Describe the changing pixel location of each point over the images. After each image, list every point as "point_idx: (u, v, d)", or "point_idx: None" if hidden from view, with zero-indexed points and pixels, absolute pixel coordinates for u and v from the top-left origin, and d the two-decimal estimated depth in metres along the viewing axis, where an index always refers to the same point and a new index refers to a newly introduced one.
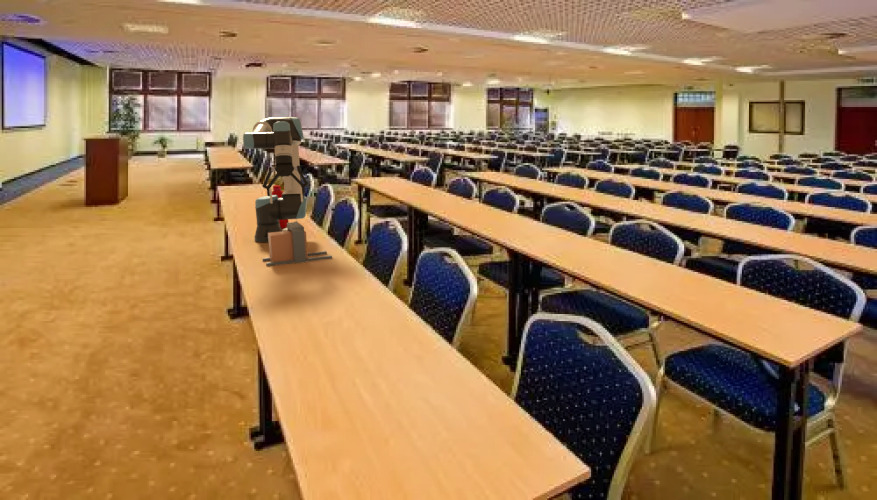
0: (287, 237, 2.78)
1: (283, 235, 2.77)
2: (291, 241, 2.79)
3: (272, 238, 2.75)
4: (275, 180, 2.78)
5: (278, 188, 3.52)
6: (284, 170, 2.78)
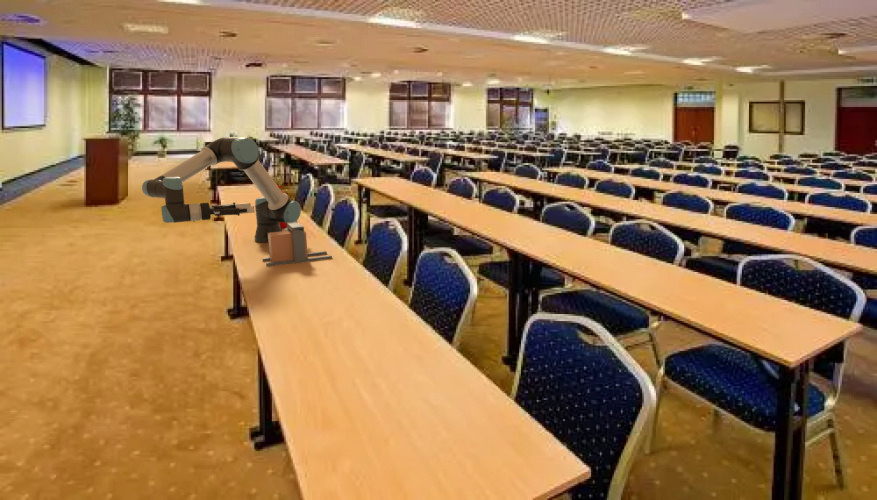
0: (287, 237, 2.78)
1: (283, 235, 2.77)
2: (291, 241, 2.79)
3: (272, 238, 2.75)
4: (226, 208, 2.76)
5: None
6: None
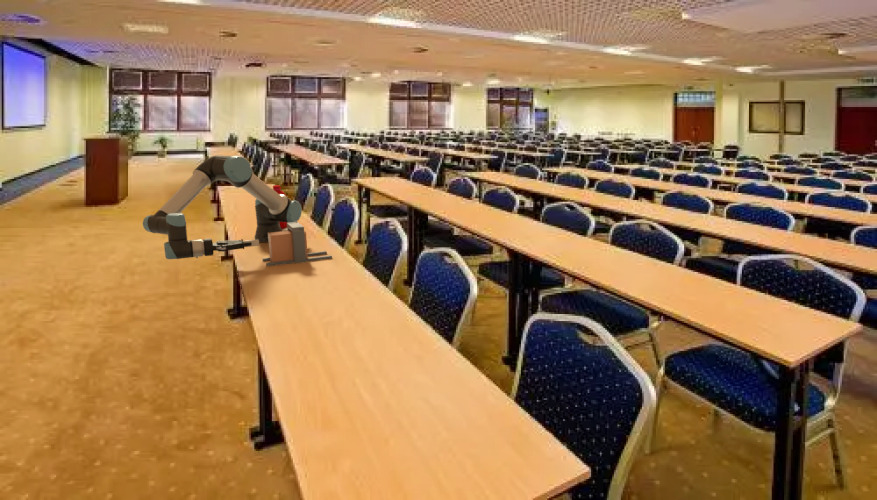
0: (287, 237, 2.78)
1: (283, 235, 2.77)
2: (291, 241, 2.79)
3: (272, 238, 2.75)
4: None
5: (278, 188, 3.52)
6: None
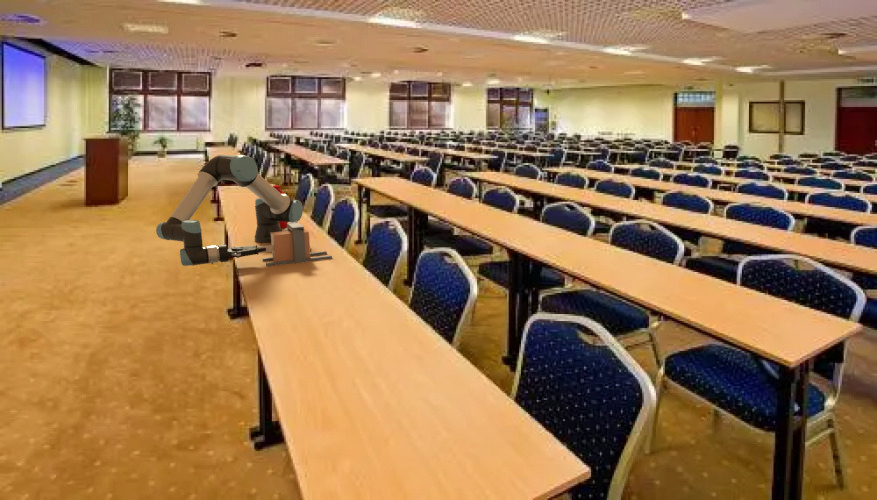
0: (290, 237, 2.78)
1: (286, 235, 2.77)
2: None
3: (275, 238, 2.75)
4: None
5: (278, 188, 3.52)
6: None
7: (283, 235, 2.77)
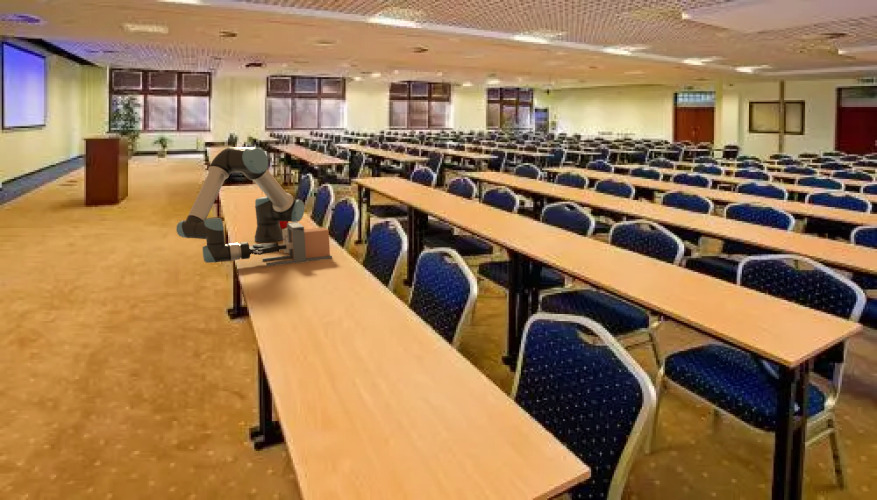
0: (310, 235, 2.82)
1: (306, 233, 2.81)
2: (314, 239, 2.83)
3: None
4: None
5: None
6: None
7: None
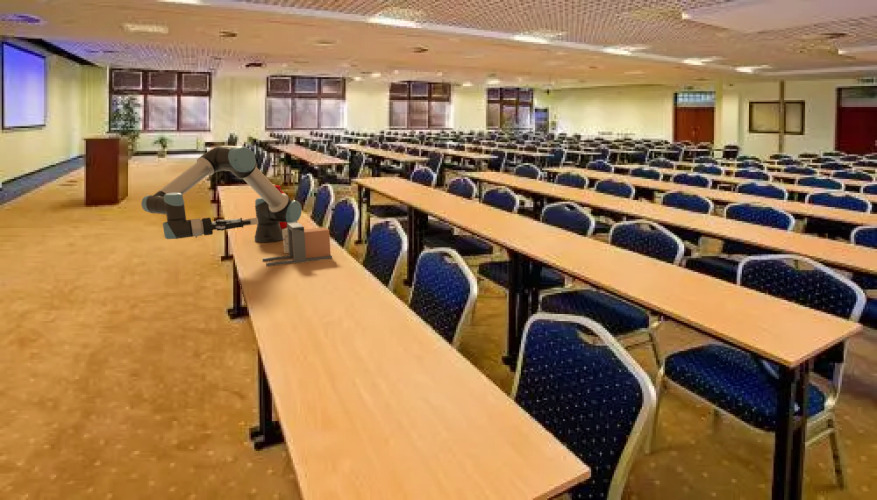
0: (311, 235, 2.82)
1: (307, 233, 2.81)
2: (314, 239, 2.83)
3: None
4: None
5: (278, 188, 3.52)
6: None
7: (304, 233, 2.81)
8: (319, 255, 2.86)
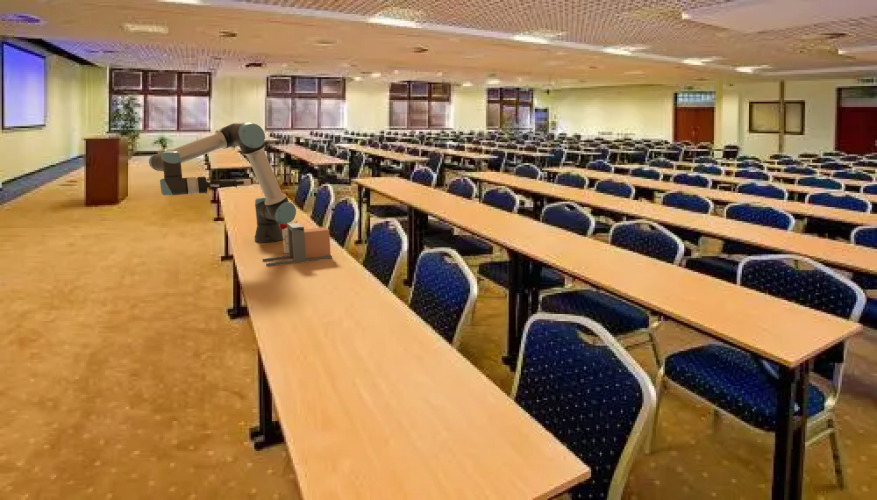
0: (311, 235, 2.82)
1: (307, 233, 2.81)
2: (314, 239, 2.83)
3: None
4: None
5: None
6: None
7: (304, 233, 2.81)
8: (319, 255, 2.86)
